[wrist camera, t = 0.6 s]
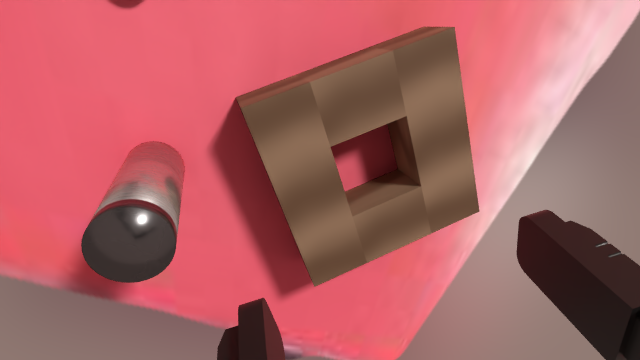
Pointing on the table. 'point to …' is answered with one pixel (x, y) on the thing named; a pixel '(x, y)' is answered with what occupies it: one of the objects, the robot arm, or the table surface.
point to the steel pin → (138, 216)
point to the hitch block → (353, 120)
